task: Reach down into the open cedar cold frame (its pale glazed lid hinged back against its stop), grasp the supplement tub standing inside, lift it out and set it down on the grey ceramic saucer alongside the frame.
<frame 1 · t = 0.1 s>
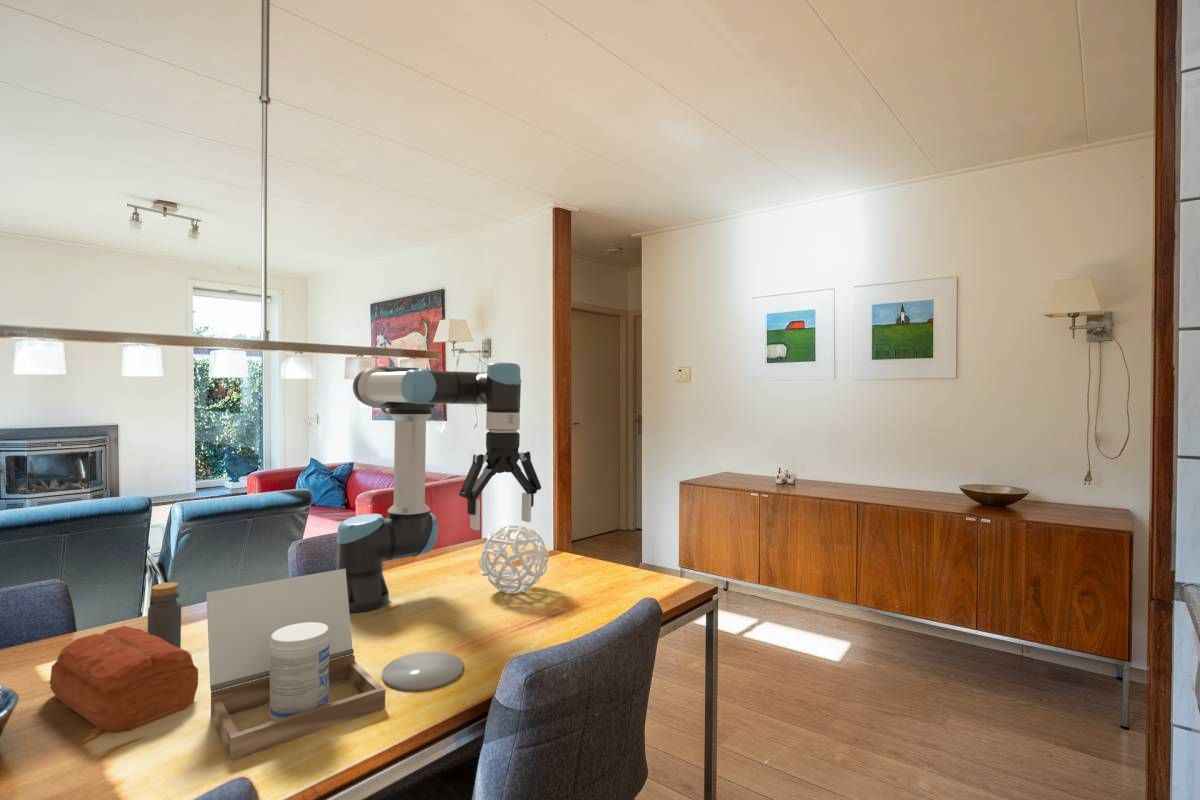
hand: (501, 525, 137), 28 cm above the table, fingers open, 13 cm apart
bread: (124, 700, 112), on the table
lid: (283, 624, 116), point 12 cm above the table, hinge at 107.0°
decorative ball: (513, 592, 176), on the table
cold frame: (299, 713, 108), on the table
saucer: (423, 671, 125), on the table
bottle: (164, 655, 131), on the table
supplement tub: (299, 714, 108), resting in cold frame
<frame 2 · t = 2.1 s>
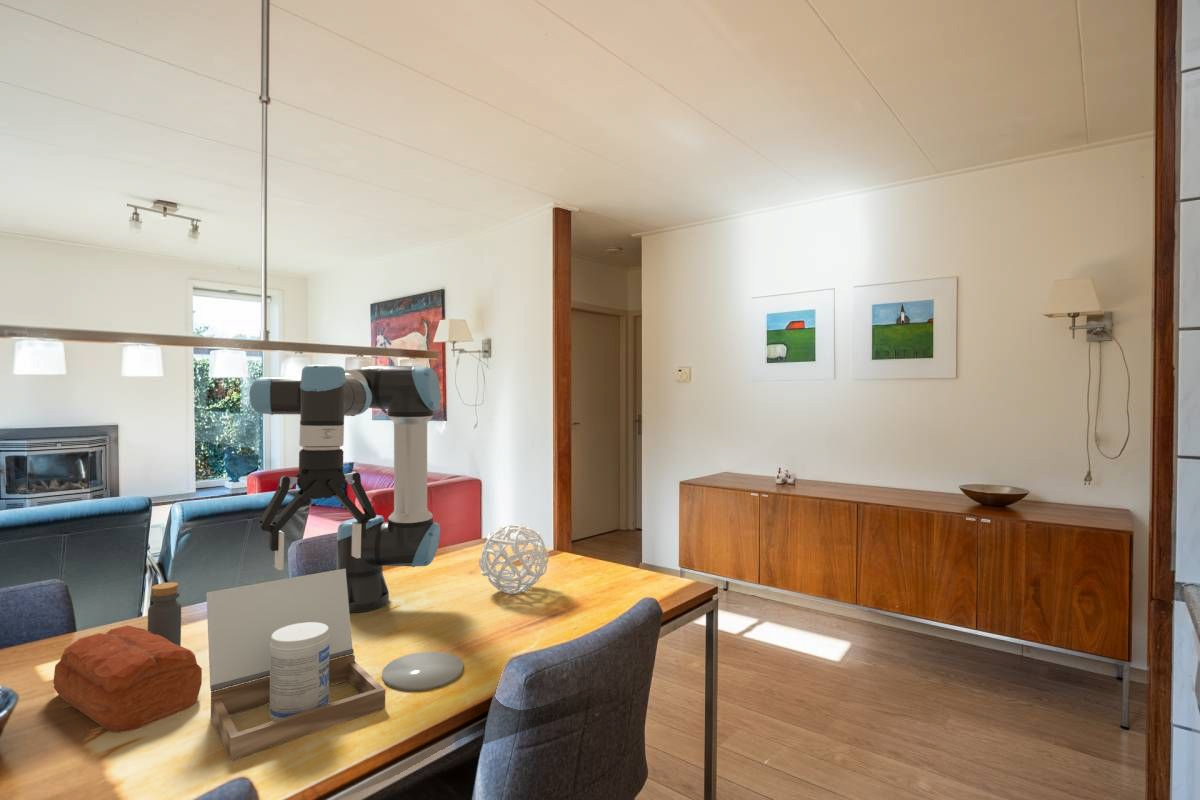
hand: (319, 562, 112), 26 cm above the table, fingers open, 13 cm apart
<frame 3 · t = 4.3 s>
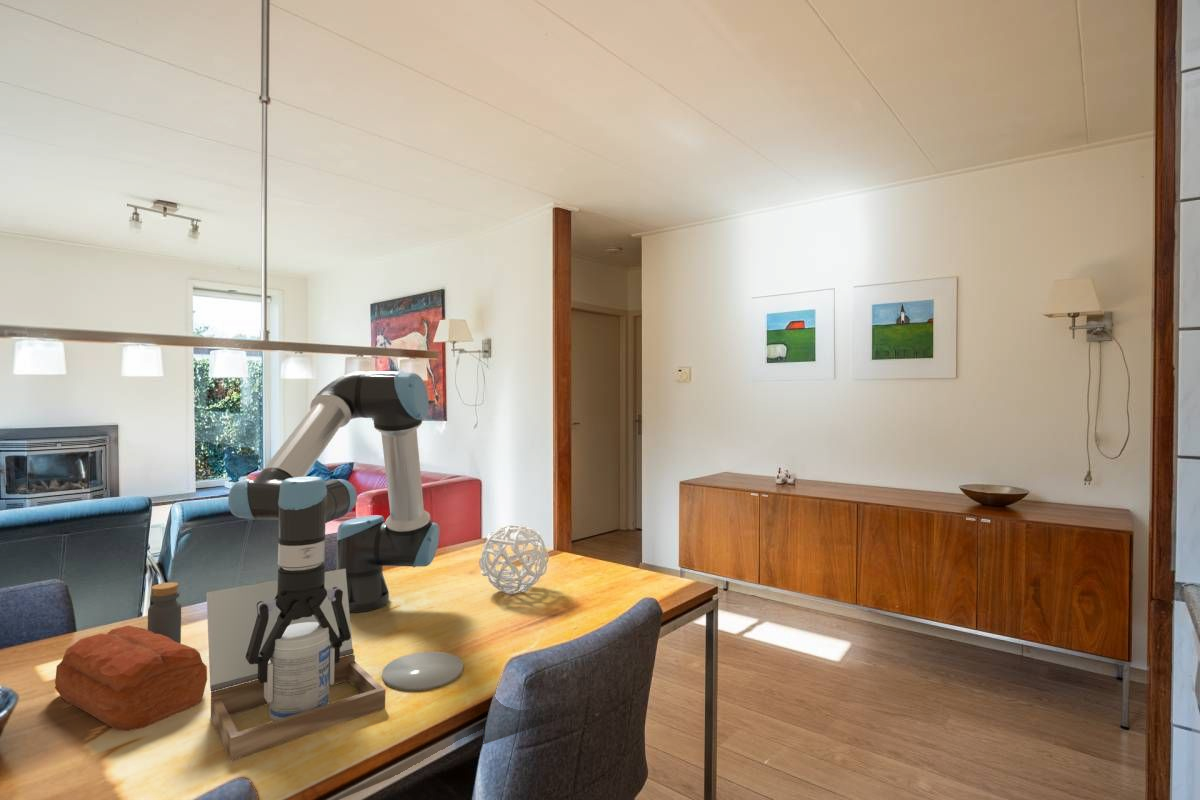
hand: (299, 690, 108), 4 cm above the table, fingers closed on supplement tub, 9 cm apart
supplement tub: (299, 714, 108), resting in cold frame, touching gripper
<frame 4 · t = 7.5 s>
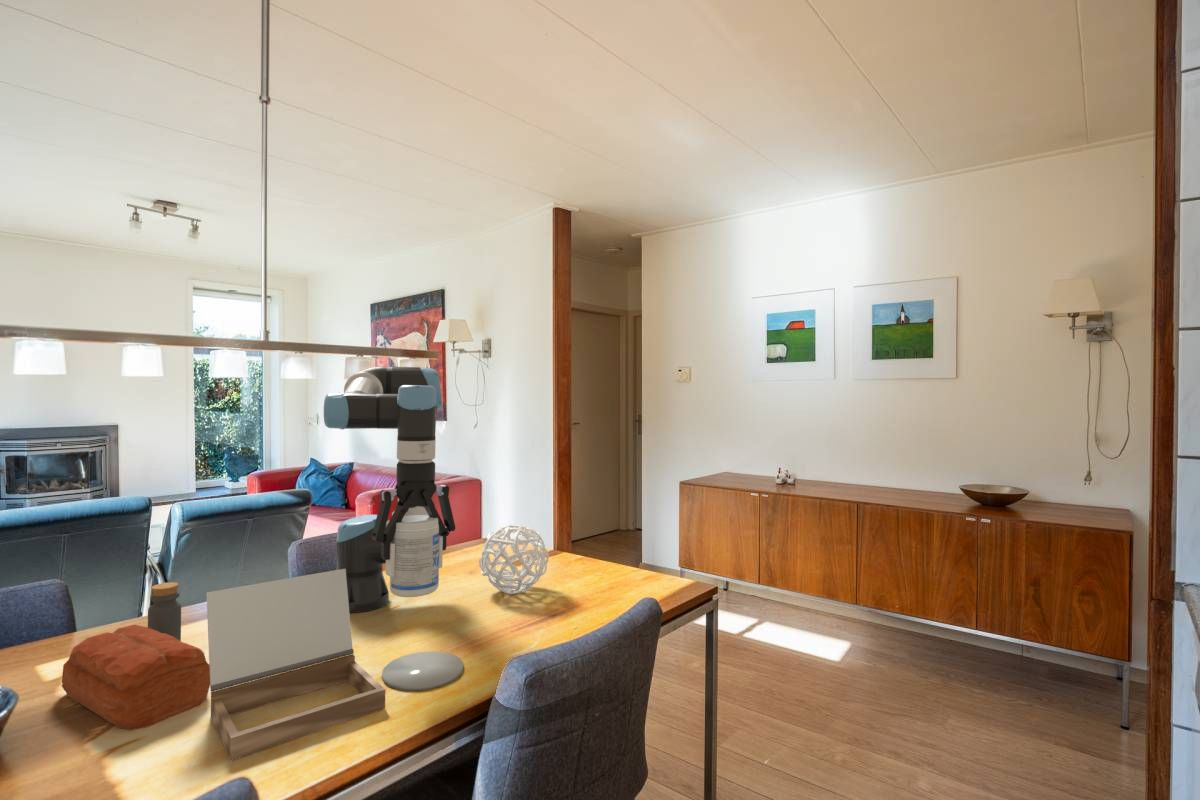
hand: (414, 570, 123), 21 cm above the table, fingers closed on supplement tub, 9 cm apart
supplement tub: (414, 591, 123), point 17 cm above the table, touching gripper
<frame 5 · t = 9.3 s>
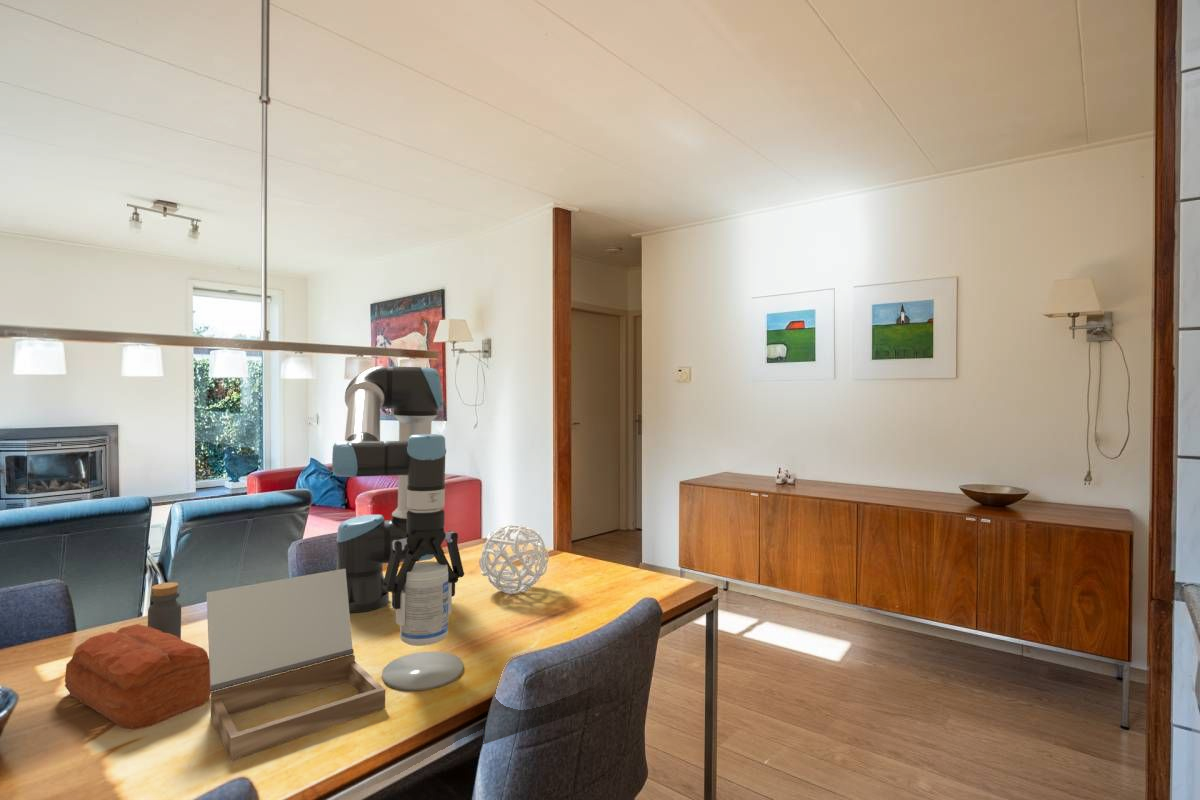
hand: (424, 618, 124), 11 cm above the table, fingers closed on supplement tub, 9 cm apart
supplement tub: (424, 639, 124), point 7 cm above the table, touching gripper
when the fingers open (7 cm above the table, at t = 10.5 s): supplement tub drops 2 cm, resting on saucer.
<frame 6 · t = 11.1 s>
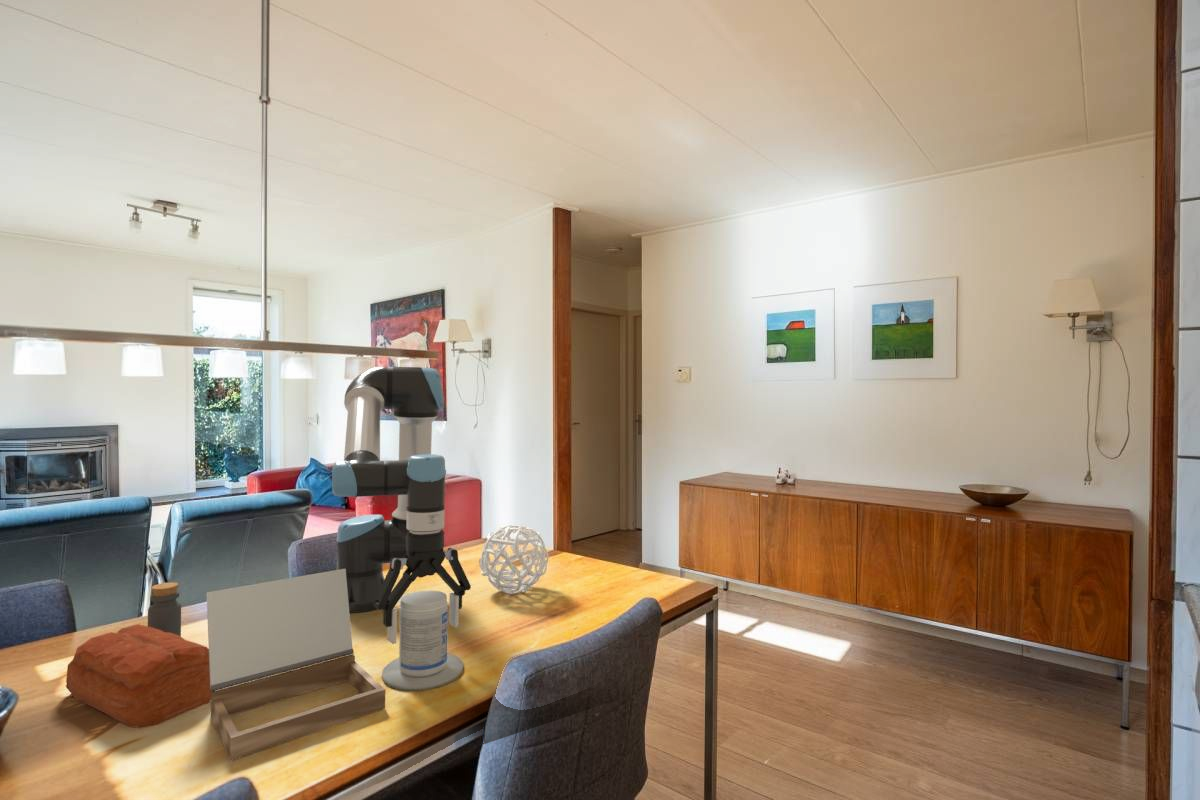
hand: (423, 633, 125), 8 cm above the table, fingers open, 13 cm apart
supplement tub: (423, 669, 125), point 1 cm above the table, touching saucer
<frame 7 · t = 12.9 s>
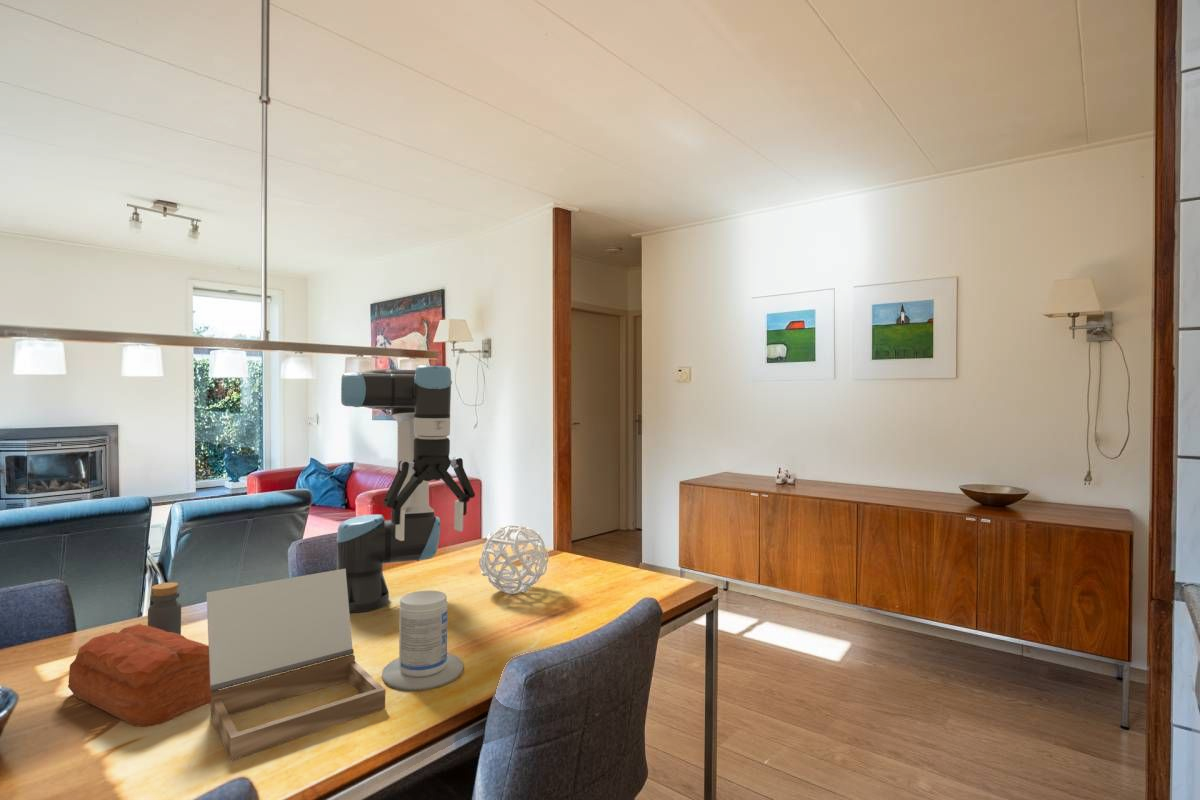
hand: (430, 534, 131), 27 cm above the table, fingers open, 13 cm apart
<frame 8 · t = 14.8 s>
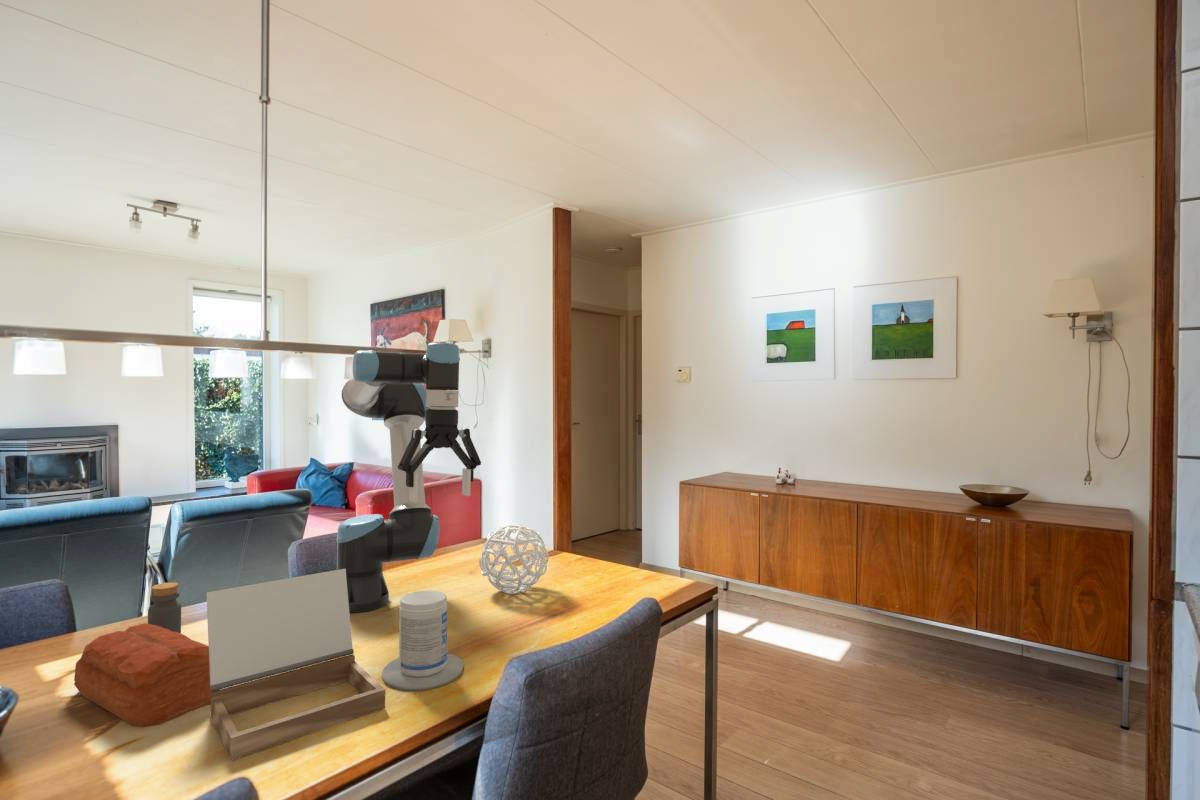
hand: (440, 498, 143), 33 cm above the table, fingers open, 13 cm apart
at the end: supplement tub 0.0 cm from the saucer (horizontally); supplement tub tilted 0°; supplement tub point 0.6 cm above the table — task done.
